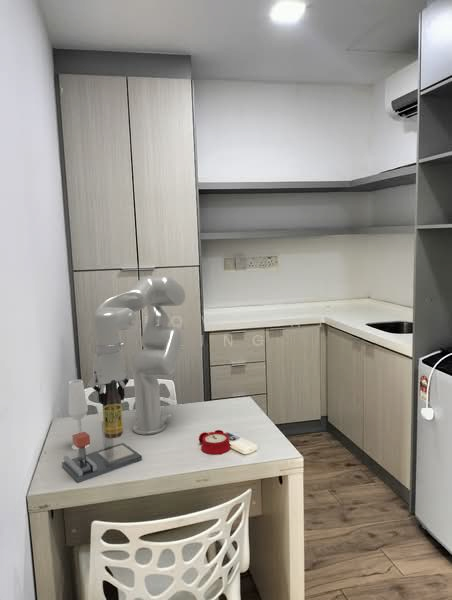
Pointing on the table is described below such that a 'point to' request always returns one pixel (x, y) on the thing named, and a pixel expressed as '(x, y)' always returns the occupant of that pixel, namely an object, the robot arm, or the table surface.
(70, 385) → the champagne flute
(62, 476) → the table surface
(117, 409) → the sauce bottle
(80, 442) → the press lever
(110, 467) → the base
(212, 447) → the alarm clock
